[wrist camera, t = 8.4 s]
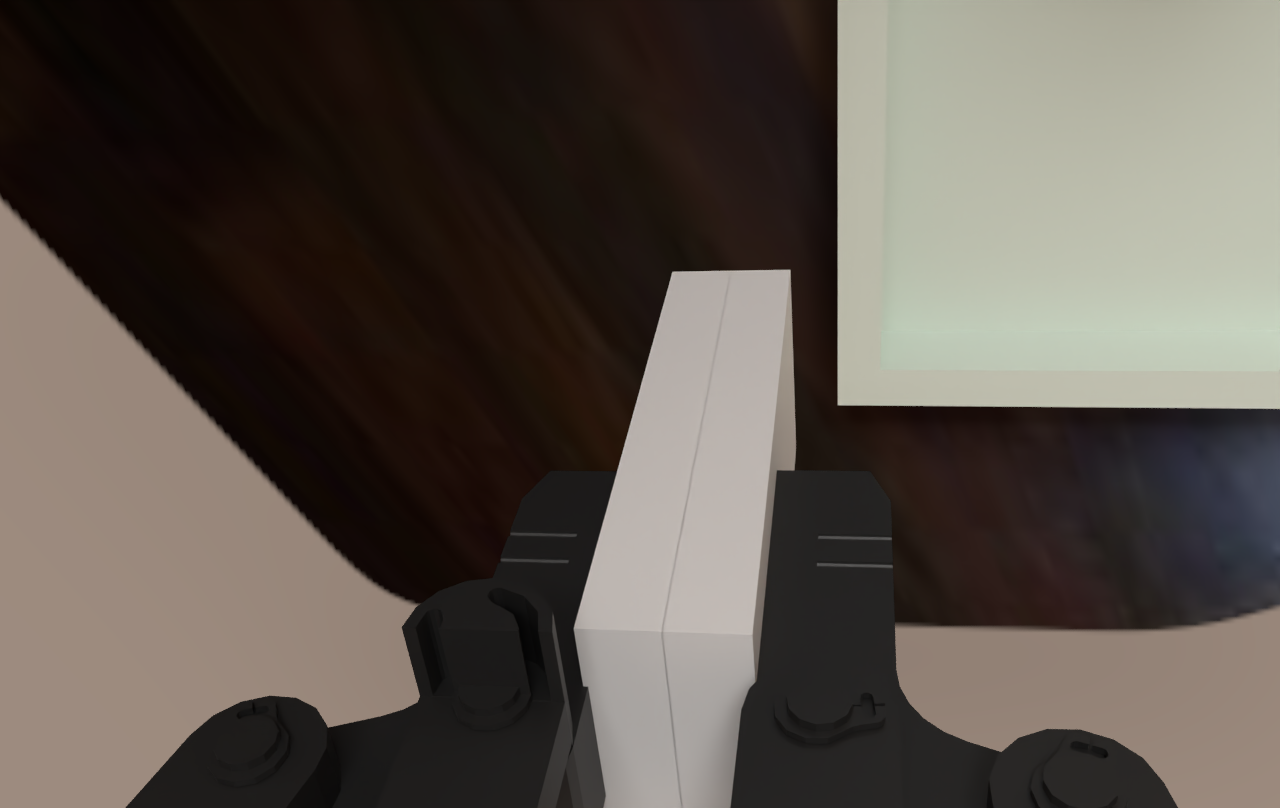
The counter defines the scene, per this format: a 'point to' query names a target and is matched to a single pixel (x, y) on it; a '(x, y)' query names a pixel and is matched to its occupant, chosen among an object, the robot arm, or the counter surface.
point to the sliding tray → (1059, 203)
